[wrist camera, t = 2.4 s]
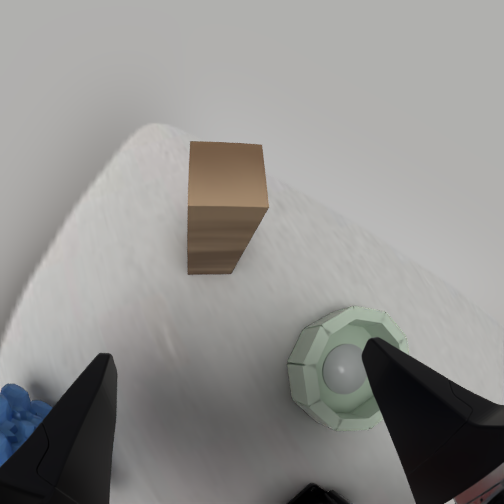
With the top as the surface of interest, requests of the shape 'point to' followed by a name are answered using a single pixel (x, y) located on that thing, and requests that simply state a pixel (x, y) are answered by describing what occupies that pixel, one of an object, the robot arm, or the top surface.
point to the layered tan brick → (223, 203)
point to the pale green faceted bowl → (340, 367)
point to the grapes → (18, 418)
